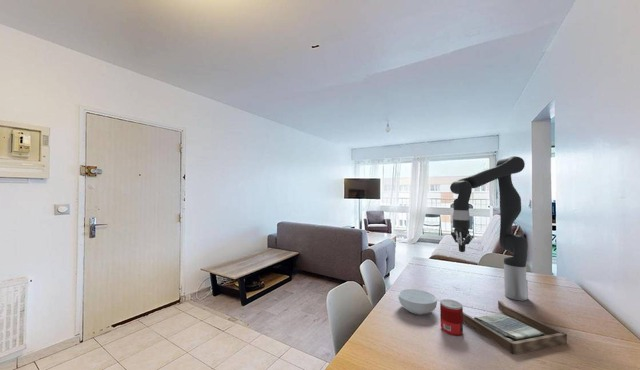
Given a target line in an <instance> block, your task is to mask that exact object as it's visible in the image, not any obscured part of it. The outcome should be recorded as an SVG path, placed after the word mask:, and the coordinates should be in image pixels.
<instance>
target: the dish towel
mask: <svg viewBox="0 0 640 370" xmlns="http://www.w3.org/2000/svg"><path fill="white" fill-rule="evenodd" d="M473 318H474V319H475V320H477V321H479V322H480V323H482V324H484V325H485V326H487V327H489V328H490V329H492V330H494V331H495V332H497V333H499V334H500V335H502V336H504V337H505V338H507V339H509V340H510V341H512V342H514V341H520V340H525V339H530V338H535V337H541V336H546V334H544V333H542V332H540V331H538V330H536V329H534V328H532V327H530V326H528V325H526V324H524V323H522V322H520V321H518V320H516V319H514V318H512V317H510V316H508V315H506V314H504V313H502V312H499V313H496V314H492V315H484V316H475V317H473Z"/></svg>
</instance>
